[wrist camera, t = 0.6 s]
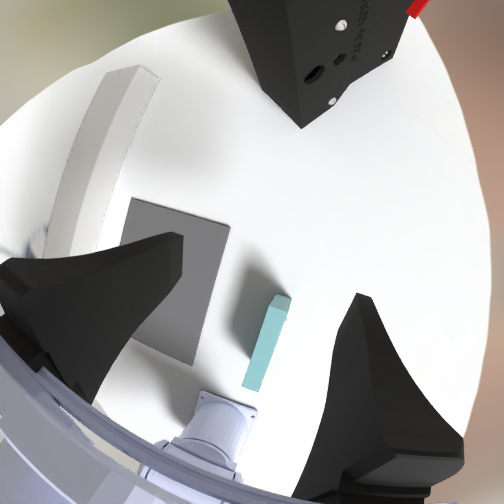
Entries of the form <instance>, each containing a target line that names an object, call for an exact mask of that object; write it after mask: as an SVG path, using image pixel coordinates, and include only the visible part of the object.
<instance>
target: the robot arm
mask: <svg viewBox="0 0 504 504" xmlns="http://www.w3.org/2000/svg"><path fill="white" fill-rule="evenodd" d="M183 240H184V235H181V234H178V233H175V232H172V231H171V232H166V233H162V234H158V235H155V236H151V237H148V238H145V239H142V240H138V241H135V242H132V243H129V244H125V245H121V246H118V247H114V248H111V249H107V250H103V251H99V252H94V253H89V254H84V255H77V256H69V257H61V258H47V259H28V258H10V259H8V260H6V261H5V262H3V263H2V264H0V303H1V306H2V308H3V310H4V312H5V314H4V315H2V316H0V415H1V416H2V418H1V419H0V432H1V433H2V435H3V436H4V437H5V438H4V440H3V441H2V442H1V443H0V504H424V498H426V497H429V495H430V492H431V486H433V485H435V484H437V483H439V482H441V481H443V480H445V479H447V478H449V477H451V476H453V475H454V474H456V473H457V472H458V471H459V470H460V469H461V468H462V467H463V465H464V442H463V438H462V437H461V436H460V435H459V434H458V433H457V432H456V431H455V430H454V429H453V428H452V427H451V426H450V425H449V424H448V423H447V422H446V421H445V420H444V419H443V418H442V417H441V415H440V414H439V413H438V412H437V411H436V410H435V408H434V407H433V406H432V405H431V404H430V402H429V401H428V400H427V399H426V397H425V396H424V394H423V393H422V392H421V390H420V389H419V388H418V386H417V385H416V383H415V382H414V380H413V379H412V377H411V376H410V374H409V373H408V371H407V369H406V368H405V366H404V364H403V363H402V361H401V359H400V357H399V356H398V354H397V352H396V350H395V348H394V346H393V344H392V342H391V340H390V338H389V336H388V334H387V332H386V329H385V327H384V325H383V323H382V321H381V318H380V316H379V314H378V312H377V309H376V307H375V305H374V302H373V300H372V298H371V297H369V296H366V295H363V294H359V293H356V295H355V297H354V299H353V301H352V303H351V305H350V307H349V309H348V311H347V313H346V315H345V317H344V319H343V321H342V323H341V325H340V327H339V329H338V332H337V336H336V340H335V345H334V349H333V354H332V362H331V370H330V377H329V385H328V392H327V398H326V403H325V408H324V412H323V415H322V419H321V422H320V426H319V429H318V432H317V435H316V438H315V441H314V444H313V447H312V450H311V452H310V455H309V457H308V460H307V463H306V465H305V468H304V470H303V472H302V475H301V477H300V479H299V481H298V484H297V486H296V488H295V490H294V492H293V494H292V496H291V497H287V496H283V495H279V494H275V493H271V492H268V491H264V490H261V489H257V488H254V487H251V486H248V485H245V484H243V478H242V476H241V473H239V472H235V473H234V471H235V469H236V466H237V464H236V463H235V462H236V459H237V457H238V456H239V455H240V453H241V451H242V449H243V447H244V445H245V443H246V440H247V438H248V436H249V434H250V431H251V429H252V427H253V425H254V422H255V420H256V418H257V415H258V411H256V410H254V409H251V408H248V407H245V406H243V405H240V404H237V403H234V402H231V401H229V400H226V399H224V398H221V397H218V396H216V395H213V394H211V393H208V392H206V391H201V392H200V394H199V398H198V401H197V405H196V408H195V412H194V416H193V418H192V420H191V421H190V423H189V424H188V425H187V427H186V428H185V430H184V431H183V432H182V434H181V435H180V436H179V438H178V437H174V439H173V440H172V441H171V443H169V441H167V440H162V441H158V442H156V443H155V444H154V445H153V444H151V443H149V442H147V441H145V440H144V439H142V438H140V437H138V436H137V435H135V434H133V433H132V432H130V431H128V430H127V429H125V428H124V427H122V426H120V425H119V424H117V423H116V422H114V421H113V420H111V419H110V418H108V417H107V416H105V415H104V414H102V413H101V412H100V411H98V410H97V409H95V408H94V407H92V406H91V405H92V403H93V400H94V398H95V396H96V394H97V392H98V390H99V388H100V386H101V384H102V382H103V380H104V378H105V377H106V375H107V373H108V371H109V370H110V368H111V366H112V364H113V363H114V361H115V360H116V358H117V357H118V355H119V353H120V352H121V350H122V349H123V347H124V346H125V344H126V343H127V342H128V340H129V339H130V337H131V336H132V335H133V333H134V332H135V331H136V330H137V328H138V327H139V326H140V325H141V324H142V323H143V322H144V320H145V319H146V318H147V317H148V316H149V315H150V314H151V313H152V312H153V311H154V310H155V309H156V308H157V306H158V305H159V304H160V303H161V302H162V301H163V300H164V299H165V298H166V297H167V296H168V294H169V293H170V292H171V291H172V289H173V288H174V287H175V285H176V284H177V282H178V281H179V279H180V278H181V276H182V266H183ZM201 396H203V397H204V398H202V397H201ZM60 406H61V407H62V408H63V409H65V410H66V411H67V412H68V413H69V414H71V415H72V416H73V417H74V418H76V419H77V420H78V421H79V422H81V423H82V424H83V425H84V426H86V427H87V428H88V429H90V430H91V431H92V432H94V433H95V434H97V435H98V436H99V437H101V438H102V439H104V440H105V441H107V442H108V443H110V444H111V445H113V446H114V447H116V448H117V449H119V450H120V451H122V452H123V453H125V454H127V455H128V456H130V457H131V458H133V459H135V460H137V461H138V462H140V463H141V464H140V466H139V469H138V472H137V474H135V473H134V472H132V471H130V470H129V469H127V468H126V467H124V466H122V465H121V464H119V463H118V462H116V461H115V460H113V459H112V458H110V457H108V456H107V455H106V454H104V453H103V452H101V451H100V450H99V449H97V448H96V447H94V446H93V445H94V443H93V442H92V440H90V439H89V438H88V437H87V436H86V435H85V434H84V433H83V432H82V431H81V429H80V428H79V427H78V426H77V425H76V423H75V422H74V420H73V419H71V418H70V416H68V415H67V414H66V413H65V412H64V411H63V410H62V409H61V408H60ZM251 415H254V416H255V417H252V416H251ZM432 504H457V502H456V501H453V502H444V503H432Z"/></svg>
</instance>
